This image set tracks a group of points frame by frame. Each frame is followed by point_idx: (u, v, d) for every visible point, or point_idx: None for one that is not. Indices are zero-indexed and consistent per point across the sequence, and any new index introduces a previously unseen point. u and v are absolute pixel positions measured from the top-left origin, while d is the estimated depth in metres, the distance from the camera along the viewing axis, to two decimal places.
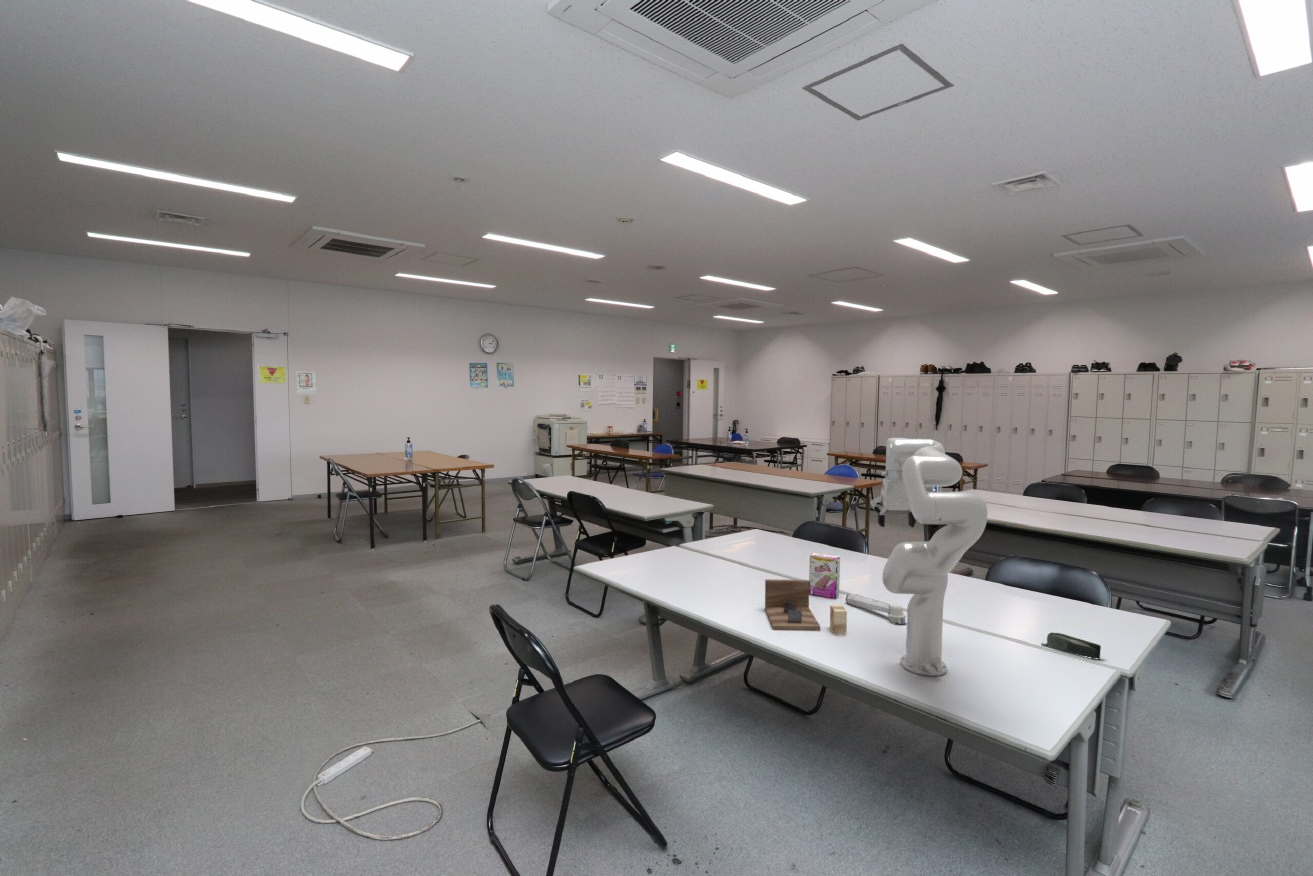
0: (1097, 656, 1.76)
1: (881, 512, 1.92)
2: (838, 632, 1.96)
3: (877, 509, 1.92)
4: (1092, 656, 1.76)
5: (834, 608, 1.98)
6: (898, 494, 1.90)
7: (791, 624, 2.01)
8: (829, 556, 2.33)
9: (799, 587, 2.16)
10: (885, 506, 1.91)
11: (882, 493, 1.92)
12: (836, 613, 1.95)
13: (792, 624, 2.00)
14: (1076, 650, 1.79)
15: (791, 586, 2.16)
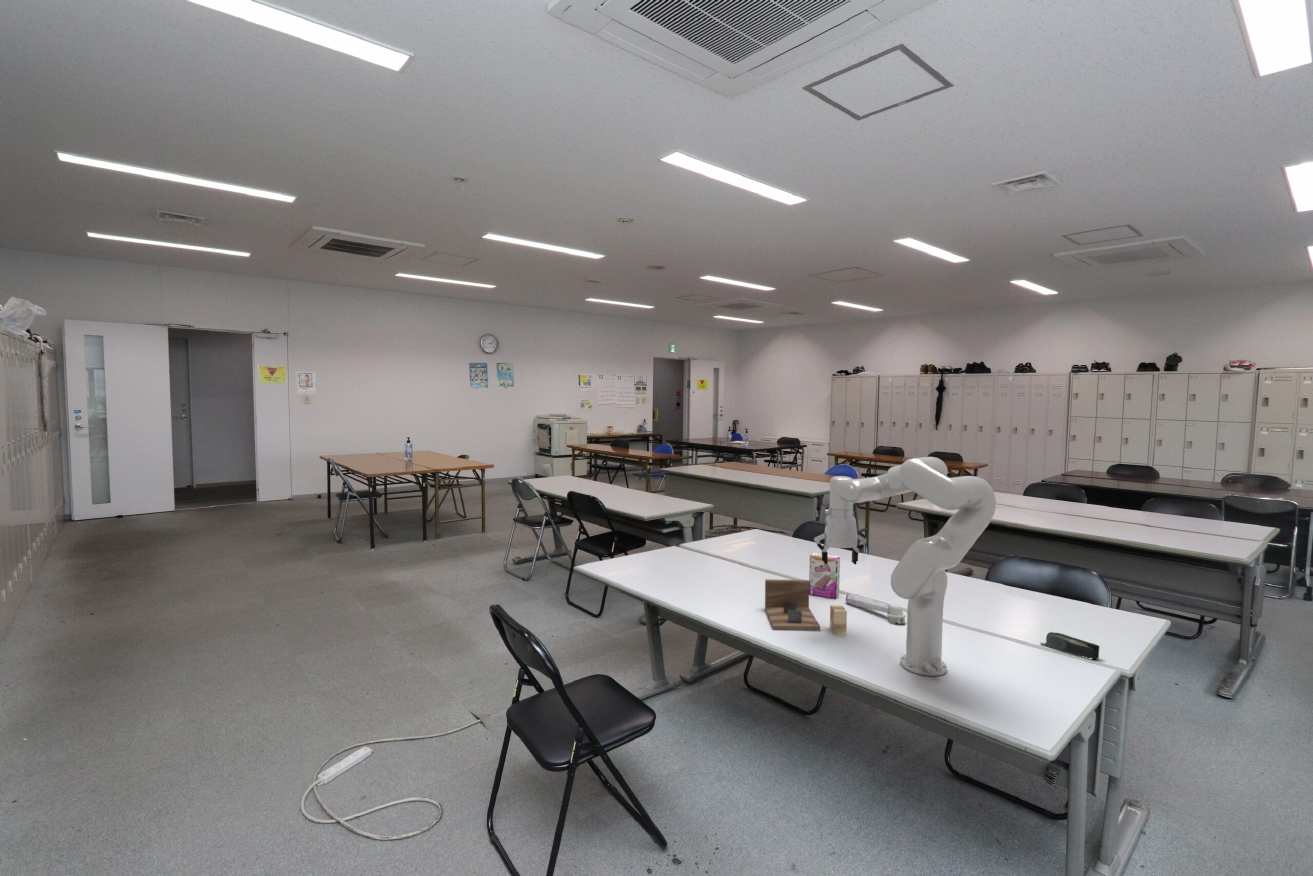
0: (1095, 656, 1.76)
1: (824, 549, 1.96)
2: (838, 632, 1.96)
3: (820, 546, 1.96)
4: (1090, 656, 1.76)
5: (834, 608, 1.98)
6: (840, 532, 1.94)
7: (791, 624, 2.01)
8: (829, 556, 2.33)
9: (799, 587, 2.16)
10: (828, 544, 1.94)
11: (825, 530, 1.96)
12: (836, 613, 1.95)
13: (792, 624, 2.00)
14: (1075, 650, 1.79)
15: (791, 586, 2.16)
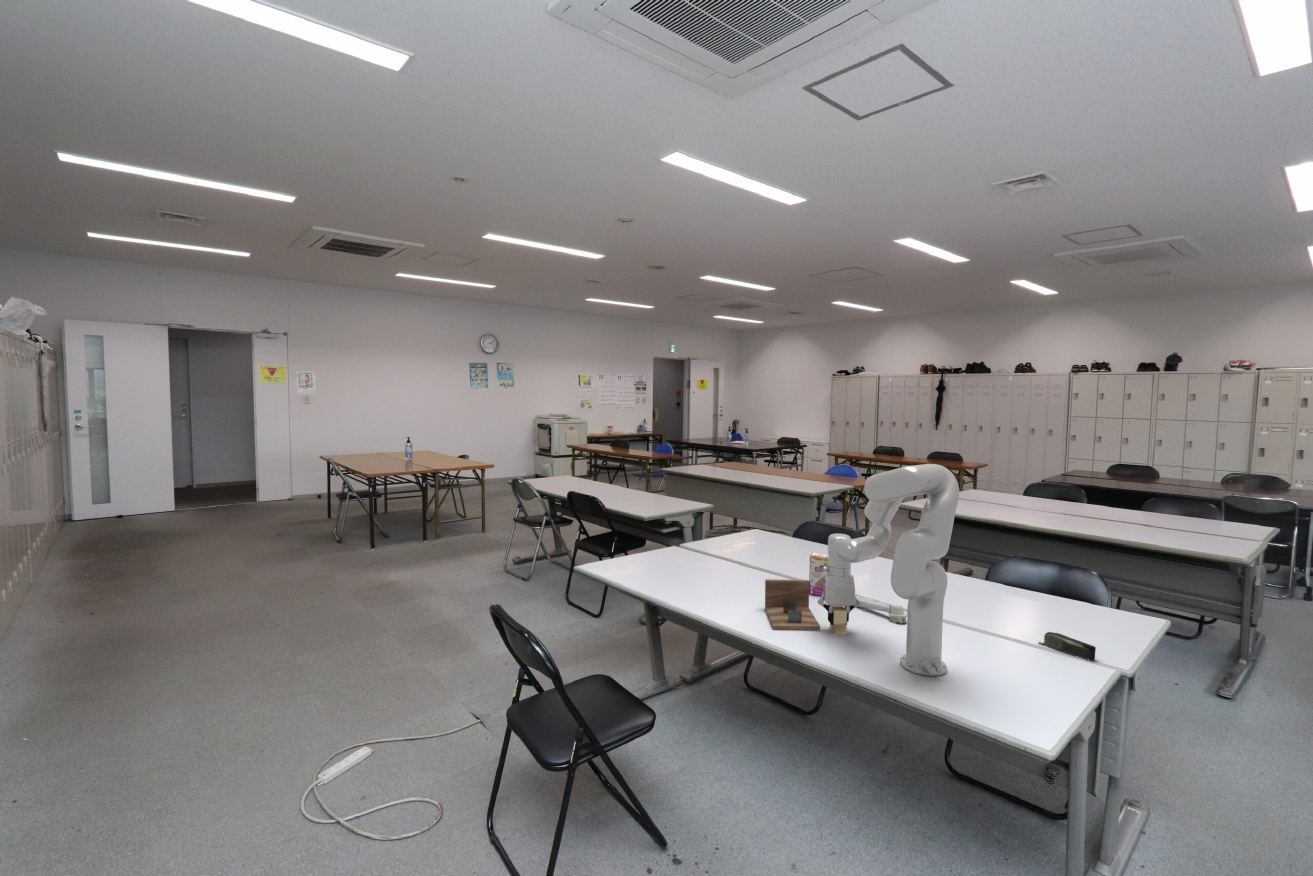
0: (1091, 657, 1.75)
1: (830, 610, 1.97)
2: (838, 632, 1.96)
3: (826, 607, 1.97)
4: (1086, 657, 1.76)
5: (834, 608, 1.98)
6: (839, 590, 1.95)
7: (791, 624, 2.01)
8: None
9: (799, 587, 2.16)
10: (826, 602, 1.96)
11: (824, 588, 1.97)
12: (836, 613, 1.95)
13: (792, 624, 2.00)
14: (1071, 650, 1.79)
15: (791, 586, 2.16)
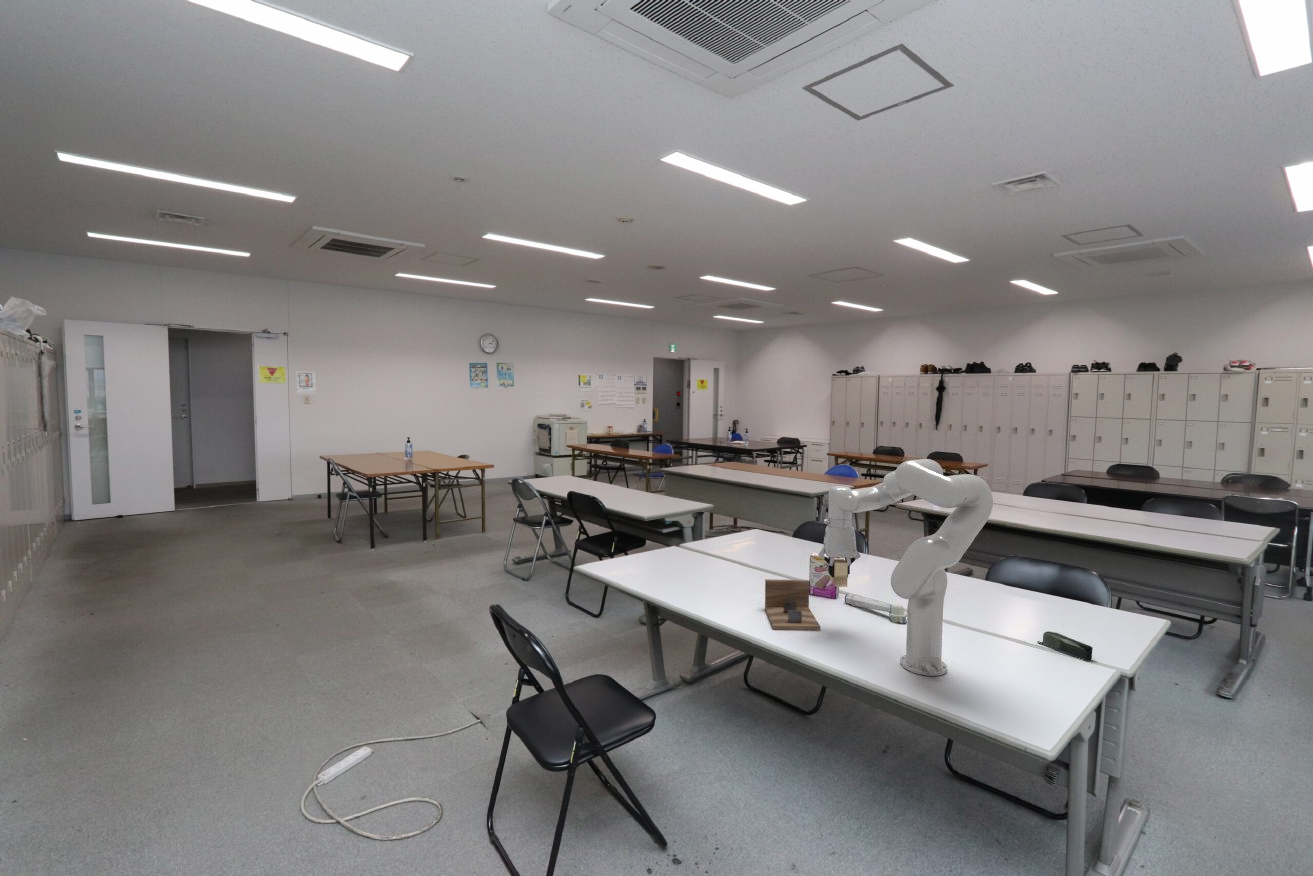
0: (1087, 657, 1.75)
1: (830, 563, 1.96)
2: (839, 584, 1.95)
3: (827, 560, 1.96)
4: (1082, 657, 1.76)
5: (835, 561, 1.97)
6: (839, 542, 1.94)
7: (791, 624, 2.01)
8: None
9: (799, 587, 2.16)
10: (827, 554, 1.94)
11: (824, 540, 1.96)
12: (837, 565, 1.94)
13: (792, 624, 2.00)
14: (1068, 649, 1.79)
15: (791, 586, 2.16)
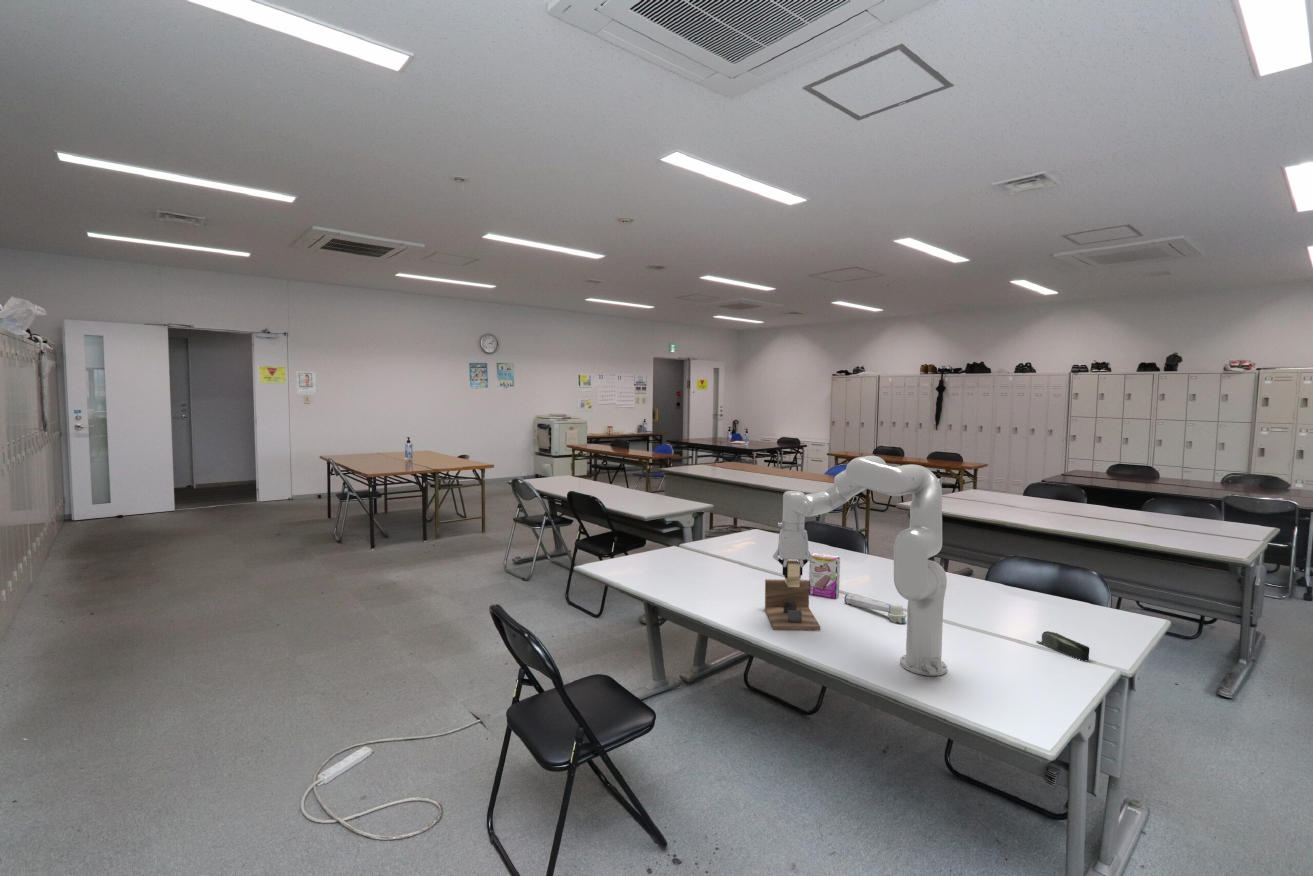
0: (1083, 657, 1.75)
1: (784, 564, 2.05)
2: (791, 584, 2.04)
3: (781, 561, 2.05)
4: (1078, 657, 1.76)
5: (788, 562, 2.06)
6: (792, 545, 2.03)
7: (791, 624, 2.01)
8: (829, 556, 2.33)
9: (799, 587, 2.16)
10: (780, 555, 2.03)
11: (778, 543, 2.05)
12: (790, 566, 2.03)
13: (792, 624, 2.00)
14: (1065, 649, 1.80)
15: None
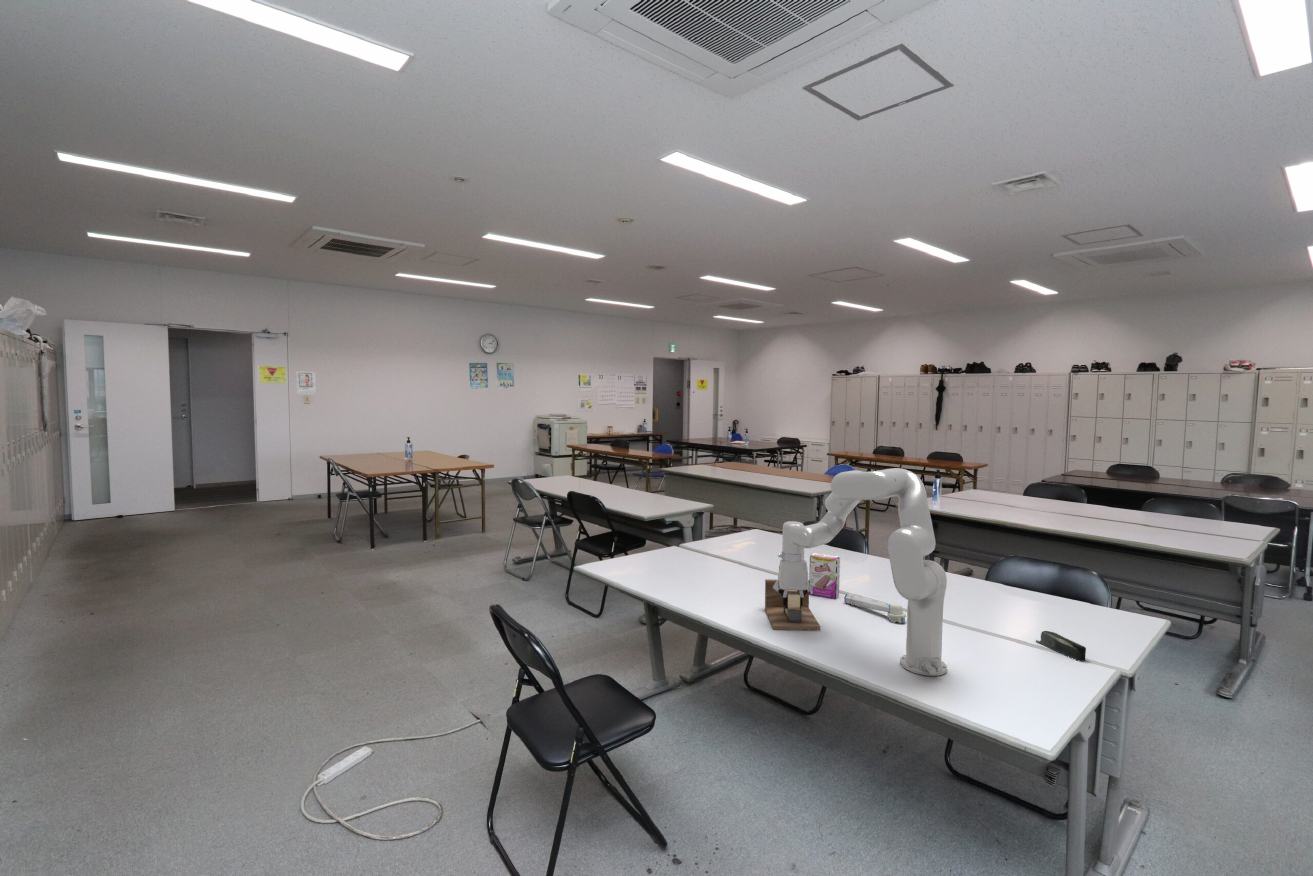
0: (1079, 657, 1.75)
1: (784, 595, 2.05)
2: None
3: (781, 592, 2.06)
4: (1075, 656, 1.76)
5: (788, 592, 2.06)
6: (792, 575, 2.03)
7: (791, 624, 2.01)
8: (829, 556, 2.33)
9: None
10: (780, 586, 2.04)
11: (778, 573, 2.06)
12: (790, 597, 2.04)
13: (792, 624, 2.00)
14: (1062, 649, 1.80)
15: None
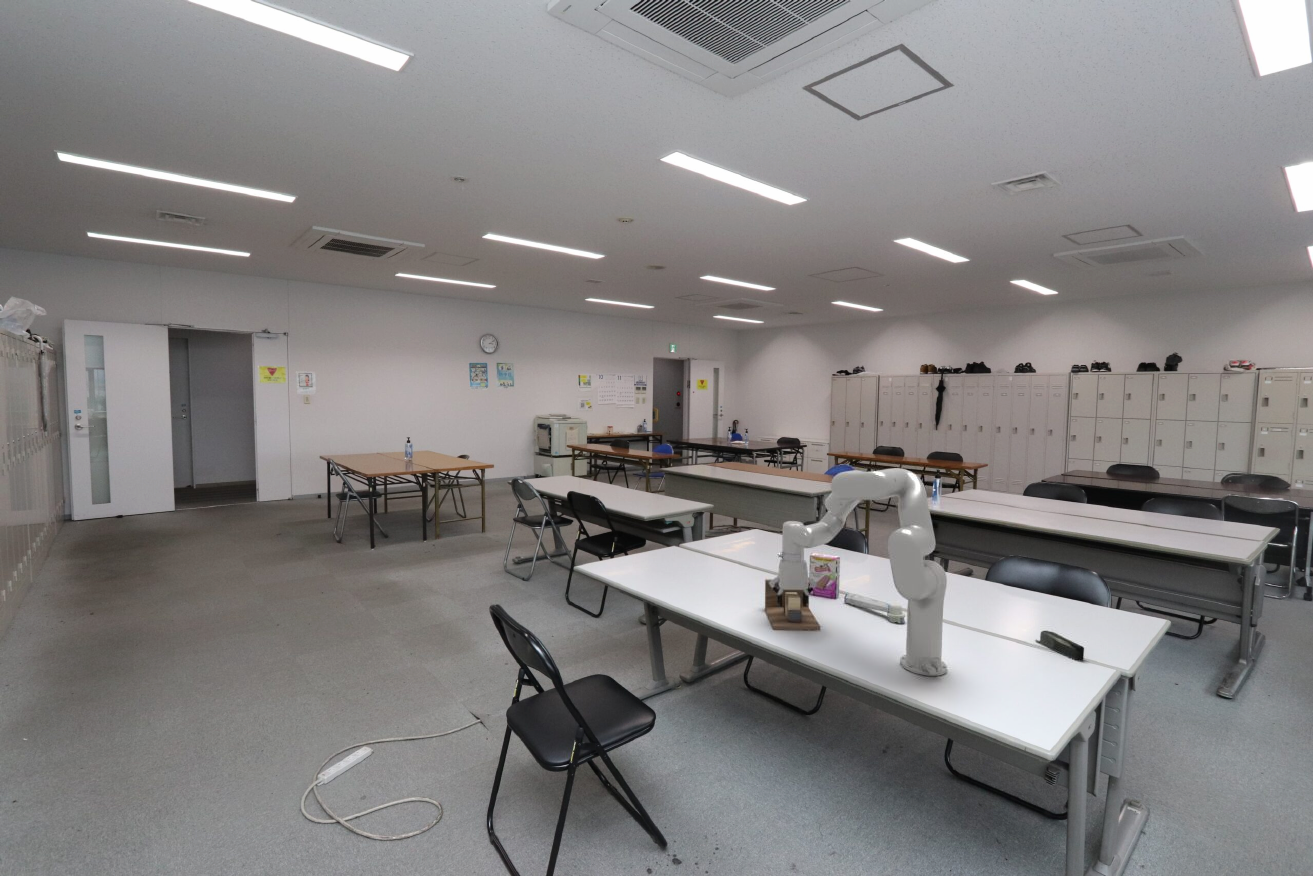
0: (1077, 657, 1.75)
1: (779, 592, 2.05)
2: None
3: (775, 589, 2.06)
4: (1073, 656, 1.76)
5: (789, 595, 2.06)
6: (792, 575, 2.03)
7: (791, 624, 2.01)
8: (829, 556, 2.33)
9: None
10: (780, 586, 2.04)
11: (778, 573, 2.06)
12: (790, 600, 2.04)
13: (792, 624, 2.00)
14: (1060, 648, 1.80)
15: None
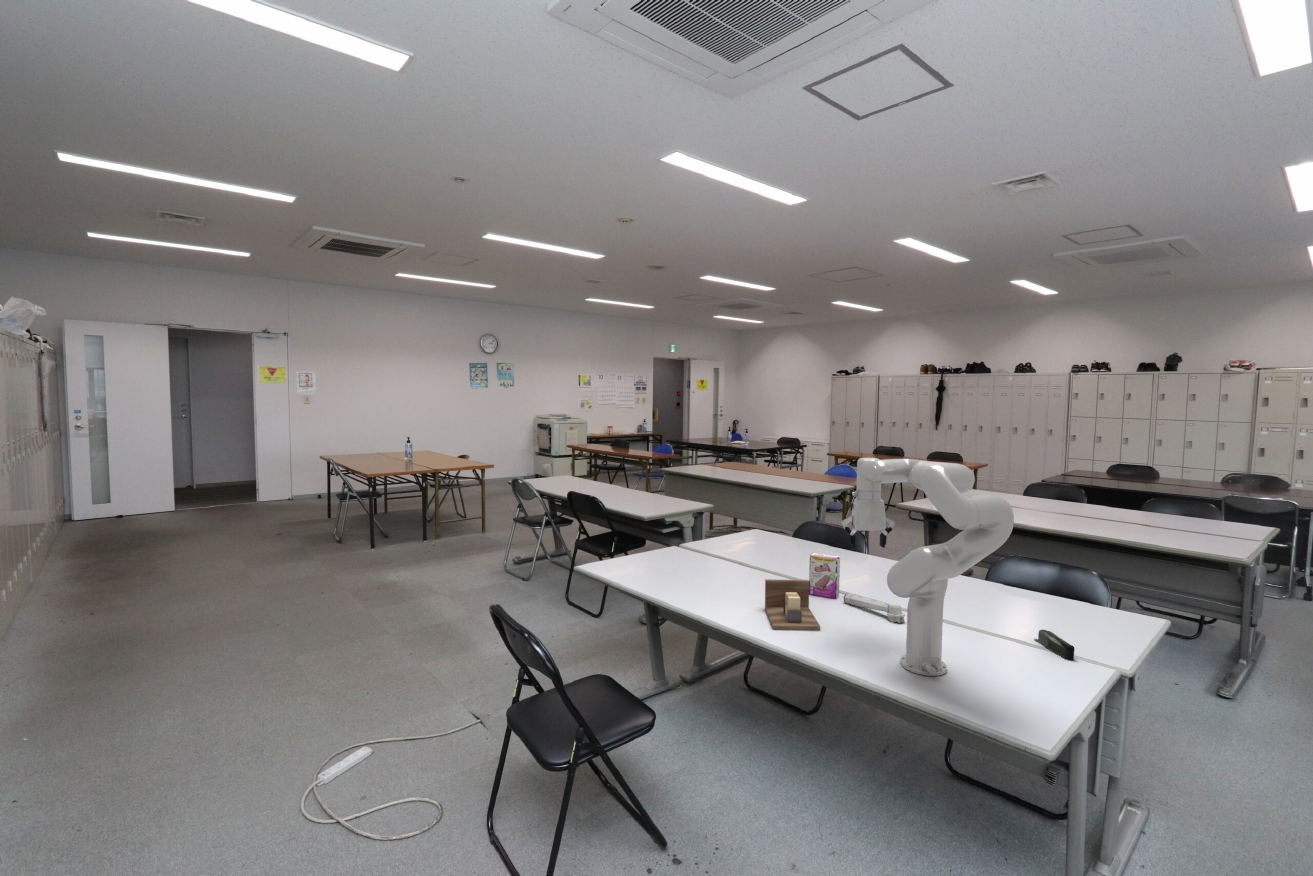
0: (1067, 656, 1.76)
1: (852, 532, 1.91)
2: None
3: (848, 529, 1.91)
4: (1062, 655, 1.77)
5: (789, 595, 2.06)
6: (868, 514, 1.89)
7: (791, 624, 2.01)
8: (829, 556, 2.33)
9: (799, 587, 2.16)
10: (855, 526, 1.89)
11: (853, 513, 1.91)
12: (790, 600, 2.04)
13: (792, 624, 2.00)
14: (1053, 647, 1.81)
15: (791, 586, 2.16)
